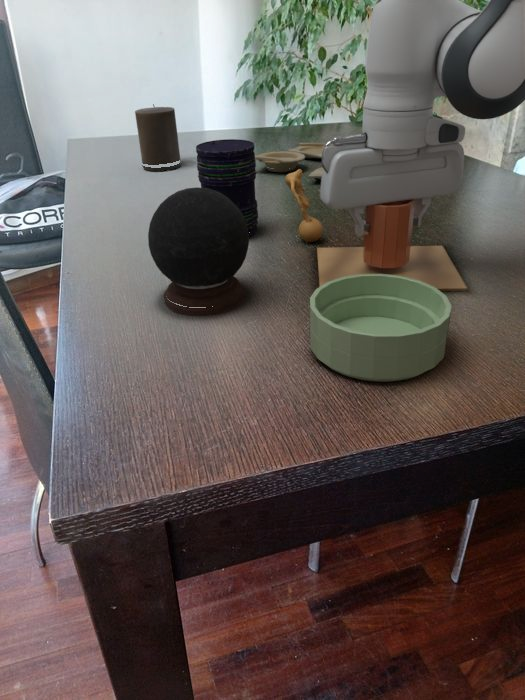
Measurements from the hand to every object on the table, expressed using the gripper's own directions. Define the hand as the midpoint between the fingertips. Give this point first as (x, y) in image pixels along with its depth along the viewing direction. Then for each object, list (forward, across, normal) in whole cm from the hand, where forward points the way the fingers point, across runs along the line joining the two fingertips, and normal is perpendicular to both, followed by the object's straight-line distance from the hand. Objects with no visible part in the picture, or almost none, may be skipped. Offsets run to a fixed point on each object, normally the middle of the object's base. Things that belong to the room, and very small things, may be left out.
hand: (388, 231), depth 82 cm
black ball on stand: (+6, -28, 0) cm, 28 cm away
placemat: (+6, 0, 0) cm, 6 cm away
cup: (+4, 0, 0) cm, 4 cm away
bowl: (+6, -12, -20) cm, 24 cm away
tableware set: (+6, +16, +62) cm, 65 cm away
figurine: (+6, -7, +15) cm, 18 cm away
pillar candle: (+6, -22, +79) cm, 83 cm away
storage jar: (+6, -18, +24) cm, 31 cm away
